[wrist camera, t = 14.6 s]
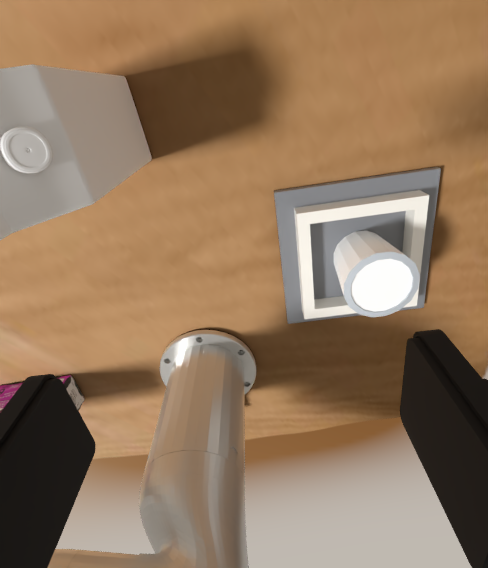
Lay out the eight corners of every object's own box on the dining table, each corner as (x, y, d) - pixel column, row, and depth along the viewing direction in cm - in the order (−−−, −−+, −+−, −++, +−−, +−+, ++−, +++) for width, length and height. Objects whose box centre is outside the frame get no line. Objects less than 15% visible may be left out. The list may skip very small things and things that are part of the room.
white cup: (321, 236, 37) (336, 265, 30) (387, 216, 35) (417, 242, 29) (334, 289, 40) (350, 326, 34) (395, 272, 39) (423, 306, 33)
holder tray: (420, 304, 42) (431, 317, 39) (287, 320, 43) (289, 334, 40) (436, 166, 34) (451, 172, 31) (273, 190, 35) (276, 198, 33)
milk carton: (84, 175, 34) (-65, 254, 18) (50, 95, 31) (-174, 99, 14) (153, 159, 34) (64, 226, 17) (126, 75, 30) (-18, 56, 14)
